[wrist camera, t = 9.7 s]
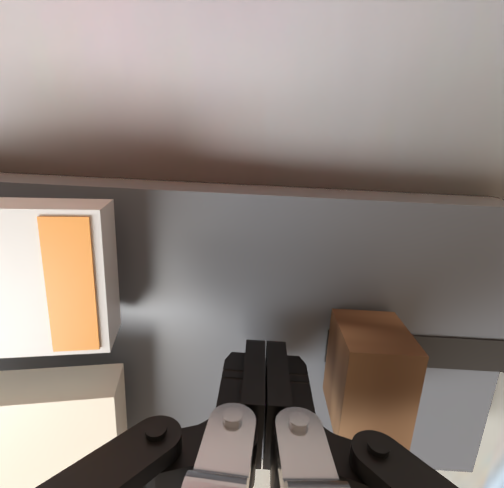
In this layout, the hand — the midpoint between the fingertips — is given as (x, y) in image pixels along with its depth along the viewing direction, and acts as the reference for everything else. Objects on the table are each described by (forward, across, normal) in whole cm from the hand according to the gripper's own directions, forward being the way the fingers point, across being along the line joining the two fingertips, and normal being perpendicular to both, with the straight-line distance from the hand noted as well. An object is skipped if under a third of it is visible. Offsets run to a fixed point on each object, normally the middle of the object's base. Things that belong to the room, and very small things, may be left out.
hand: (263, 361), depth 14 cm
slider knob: (+1, -4, 0) cm, 4 cm away
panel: (+4, +4, 0) cm, 6 cm away
